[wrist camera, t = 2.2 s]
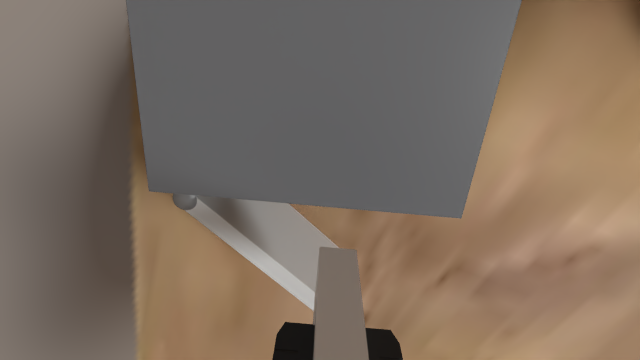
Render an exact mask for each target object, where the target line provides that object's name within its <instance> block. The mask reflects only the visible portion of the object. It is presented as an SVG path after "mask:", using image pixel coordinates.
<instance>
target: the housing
mask: <svg viewBox="0 0 640 360" xmlns="http://www.w3.org/2000/svg"><path fill="white" fill-rule="evenodd" d="M521 1H522V0H126V5H127V13H128V21H129V30H130V38H131V46H132V55H133V63H134V71H135V80H136V88H137V96H138V105H139V113H140V121H141V129H142V138H143V146H144V154H145V163H146V171H147V179H148V188H149V191H152V192H163V193H175V194H186V195H198V196H209V197H221V198H232V199H244V200H255V201H267V202H278V203H290V204H301V205H313V206H324V207H336V208H347V209H359V210H370V211H382V212H393V213H405V214H416V215H428V216H439V217H451V218H462V214H463V210H464V207H465V203H466V199H467V196H468V192H469V189H470V185H471V181H472V178H473V174H474V171H475V167H476V163H477V160H478V156H479V153H480V149H481V145H482V142H483V138H484V135H485V131H486V127H487V124H488V120H489V117H490V113H491V109H492V106H493V102H494V99H495V95H496V91H497V88H498V84H499V81H500V77H501V73H502V70H503V66H504V62H505V59H506V55H507V52H508V48H509V44H510V41H511V37H512V34H513V30H514V26H515V23H516V19H517V16H518V12H519V8H520V5H521Z"/></svg>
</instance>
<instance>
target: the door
mask: <svg viewBox="0 0 640 360" xmlns="http://www.w3.org/2000/svg"><path fill="white" fill-rule="evenodd" d="M173 201H174V203H175V205H176V206H177V207H179V208H180V209H183V210H185V211H186V212H188V213H189V214H190V215H192V216H193V217H194V218H195V219H197V220H198V221H199V222H201V223H202V224H203V225H204V226H206V227H207V228H208V229H209V230H211V231H212V232H213V233H215V234H216V235H217V236H218V237H220V238H221V239H222V240H224V241H225V242H226V243H227V244H229V245H230V246H231V247H232V248H234V249H235V250H236V251H238V252H239V253H240V254H241V255H243V256H244V257H245V258H247V259H248V260H249V261H250V262H252V263H253V264H254V265H256V266H257V267H258V268H259V269H261V270H262V271H263V272H264V273H266V274H267V275H268V276H270V277H271V278H272V279H273V280H275V281H276V282H277V283H279V284H280V285H281V286H282V287H284V288H285V289H286V290H287V291H289V292H290V293H291V294H293V295H294V296H295V297H296V298H298V299H299V300H300V301H302V302H303V303H304V304H305V305H307V306H308V307H309V308H310V309H312V310H313V311H314V298H315V288H316V278H317V268H318V258H319V248H320V247H330V248H339V247H338V246H337V245H335V244H334V243H333V242H332V241H331V240H330V239H329V238H327V237H326V236H325V235H324V234H323V233H322V232H320V231H319V230H318V229H317V228H316V227H315V226H314V225H312V224H311V223H310V222H309V221H308V220H307V219H306V218H304V217H303V216H302V215H301V214H300V213H299V212H298V211H296V210H295V209H294V208H293V207H292V206H291V205H289V204H288V203H278V202H267V201H255V200H244V199H232V198H221V197H209V196H198V195H186V194H175V193H174V194H173Z"/></svg>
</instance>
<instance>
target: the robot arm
mask: <svg viewBox="0 0 640 360" xmlns="http://www.w3.org/2000/svg"><path fill="white" fill-rule="evenodd" d="M273 360H403V358H402V353H401V348H400V344H399V342H398V341H397V339H396V338H395V336H394V335H393V333H392V332H391V330H384V329H372V328H365V321H364V313H363V304H362V295H361V286H360V278H359V269H358V260H357V251H356V250H354V249H342V248H330V247H320V248H319V258H318V268H317V278H316V288H315V298H314V315H313V324H301V323H289V322H285V323H284V325H283V326H282V328H281V329H280V331H279V332H278V333H277V337H276V342H275V348H274V354H273Z"/></svg>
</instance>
